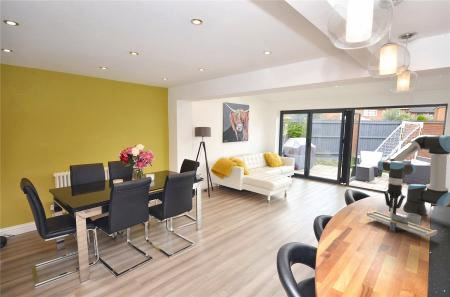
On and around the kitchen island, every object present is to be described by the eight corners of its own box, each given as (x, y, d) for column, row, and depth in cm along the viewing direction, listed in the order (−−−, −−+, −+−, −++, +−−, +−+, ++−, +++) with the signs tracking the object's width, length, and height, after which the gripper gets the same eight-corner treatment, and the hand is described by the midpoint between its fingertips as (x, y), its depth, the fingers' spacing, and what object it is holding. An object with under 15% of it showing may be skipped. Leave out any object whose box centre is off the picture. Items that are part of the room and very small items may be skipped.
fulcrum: (401, 226, 158) (402, 218, 157) (406, 228, 155) (407, 220, 154) (389, 230, 151) (390, 222, 150) (394, 232, 148) (395, 224, 148)
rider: (394, 219, 157) (395, 212, 156) (407, 224, 149) (408, 216, 149) (391, 220, 155) (392, 213, 154) (404, 225, 148) (405, 217, 147)
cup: (417, 230, 152) (419, 218, 151) (400, 225, 160) (401, 213, 159) (421, 228, 156) (422, 215, 155) (403, 222, 164) (404, 211, 163)
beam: (375, 213, 171) (376, 210, 171) (436, 233, 139) (437, 230, 139) (366, 215, 166) (366, 212, 166) (427, 237, 134) (428, 234, 134)
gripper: (381, 182, 158) (379, 214, 160) (403, 186, 146) (399, 221, 149) (387, 181, 161) (384, 212, 164) (409, 185, 150) (405, 219, 152)
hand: (392, 216), depth 156 cm, fingers closed
